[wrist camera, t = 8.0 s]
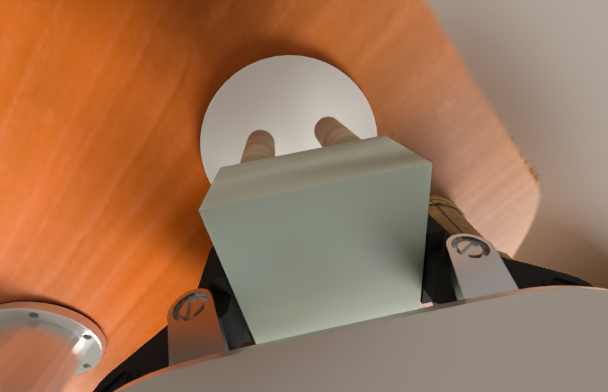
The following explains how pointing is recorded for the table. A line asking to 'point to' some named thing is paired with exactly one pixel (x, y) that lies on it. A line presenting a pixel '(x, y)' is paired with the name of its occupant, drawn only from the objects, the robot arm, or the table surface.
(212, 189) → the mint green stool
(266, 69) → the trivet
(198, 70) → the table surface
